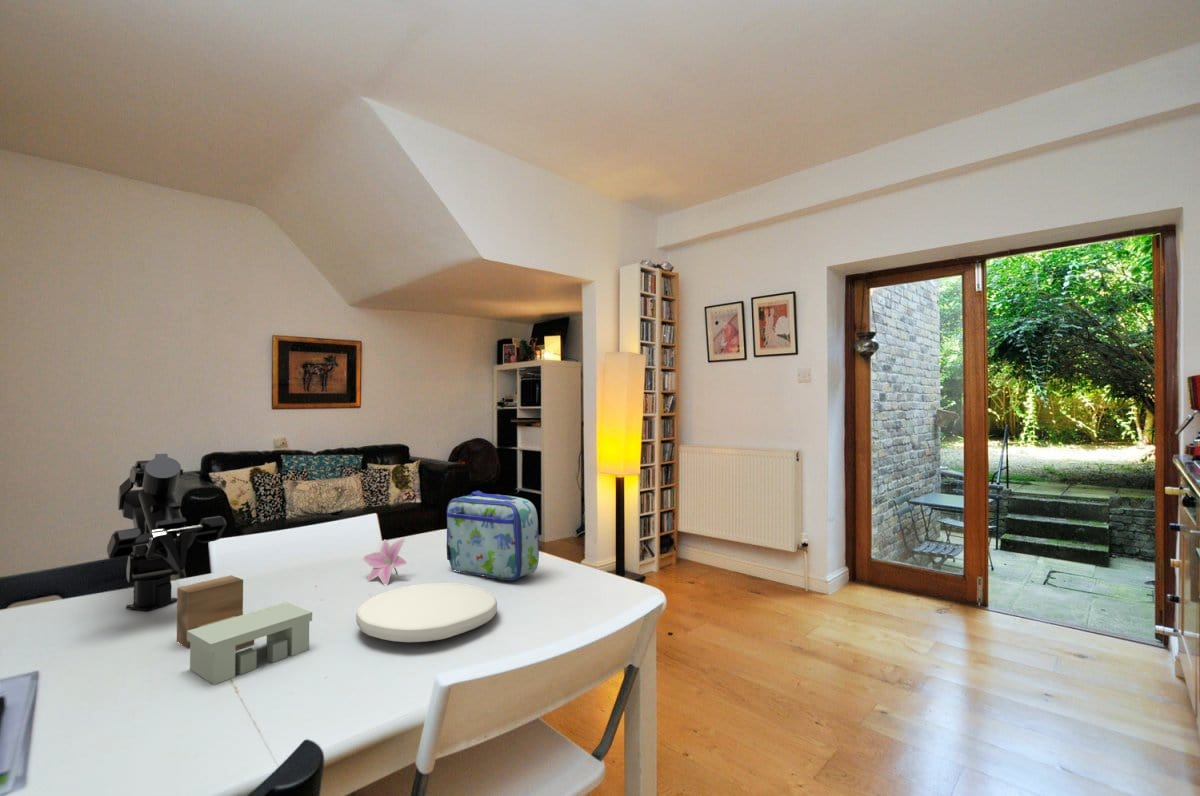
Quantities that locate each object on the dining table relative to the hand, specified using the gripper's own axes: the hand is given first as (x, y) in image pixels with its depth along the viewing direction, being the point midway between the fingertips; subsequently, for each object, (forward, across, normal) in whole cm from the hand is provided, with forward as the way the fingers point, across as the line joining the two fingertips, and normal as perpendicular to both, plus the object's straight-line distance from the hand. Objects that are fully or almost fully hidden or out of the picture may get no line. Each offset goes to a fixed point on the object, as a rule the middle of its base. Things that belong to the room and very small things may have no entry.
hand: (181, 570), depth 109 cm
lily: (+13, -41, -3) cm, 43 cm away
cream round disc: (+36, -29, +20) cm, 50 cm away
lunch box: (+26, -59, +10) cm, 66 cm away
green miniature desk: (+27, -1, +11) cm, 29 cm away
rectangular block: (+18, -1, +2) cm, 18 cm away
